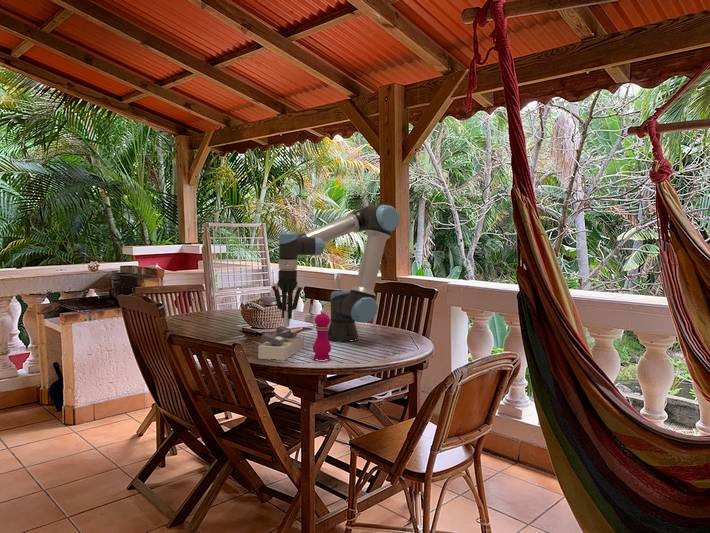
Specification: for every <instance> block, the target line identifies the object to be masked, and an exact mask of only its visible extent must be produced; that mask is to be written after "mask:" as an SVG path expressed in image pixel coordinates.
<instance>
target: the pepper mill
mask: <svg viewBox="0 0 710 533" xmlns="http://www.w3.org/2000/svg"><path fill="white" fill-rule="evenodd" d="M314 318H315V319H314V323H315V324H316V326H315V330H316V339H315V341H314V343H313V346H312V351H313V353H314V354H313V360H314V359H318V360H325V359H329V358H330V357H331V356H330V353H331V351H332V347H331V343H330V340H328V337H327V331H328V328H329V325H330V316H329V315H328V314H326V312H325V310H324V309H321V310H320V312H319V314H317V315H316V316H315V317H314Z"/></svg>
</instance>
